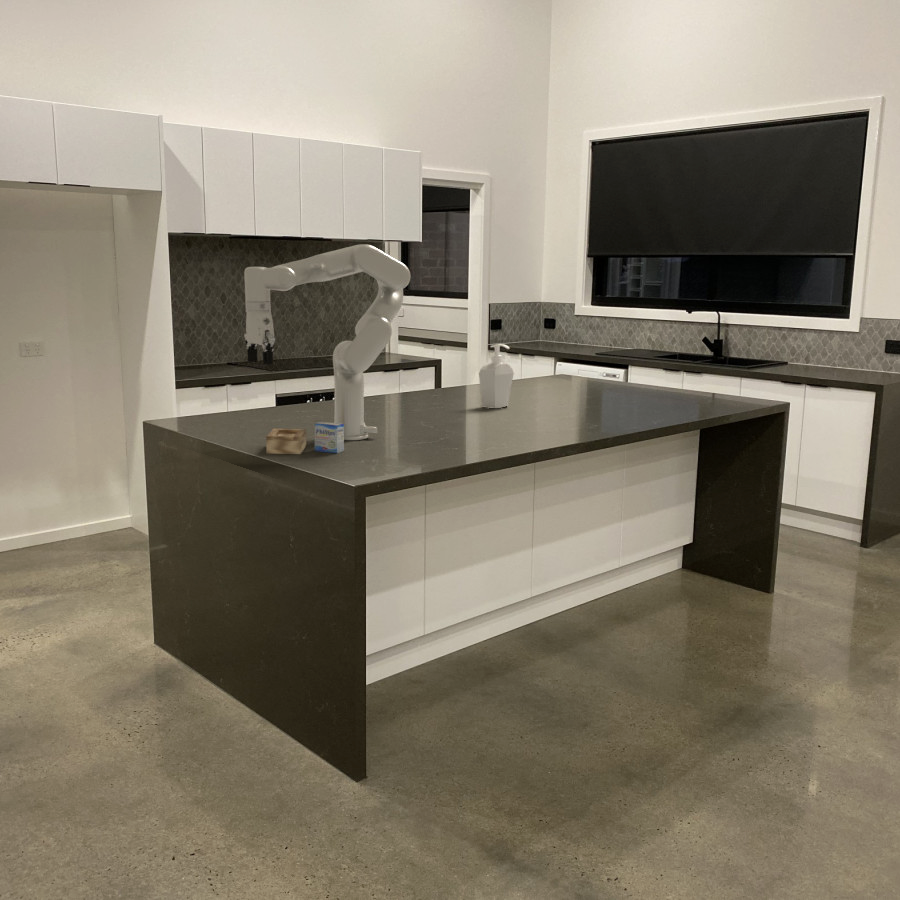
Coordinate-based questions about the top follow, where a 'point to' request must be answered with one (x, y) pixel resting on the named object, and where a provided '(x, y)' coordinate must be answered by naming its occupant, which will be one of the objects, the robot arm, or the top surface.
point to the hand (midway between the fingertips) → (260, 362)
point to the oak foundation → (286, 441)
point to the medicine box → (329, 437)
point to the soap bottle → (496, 380)
